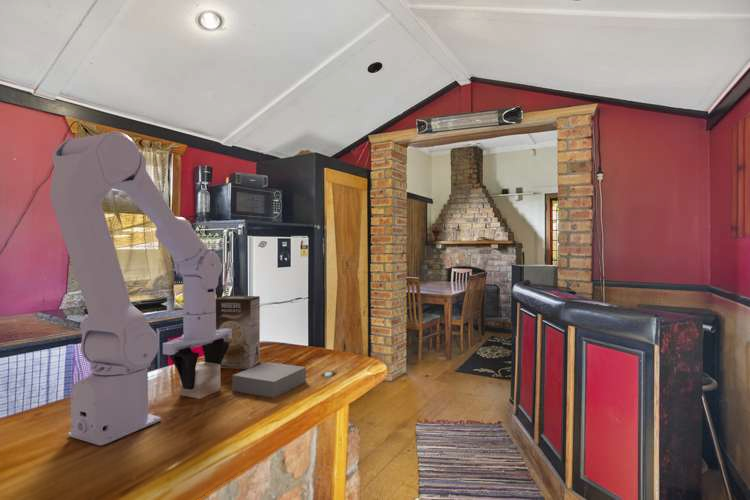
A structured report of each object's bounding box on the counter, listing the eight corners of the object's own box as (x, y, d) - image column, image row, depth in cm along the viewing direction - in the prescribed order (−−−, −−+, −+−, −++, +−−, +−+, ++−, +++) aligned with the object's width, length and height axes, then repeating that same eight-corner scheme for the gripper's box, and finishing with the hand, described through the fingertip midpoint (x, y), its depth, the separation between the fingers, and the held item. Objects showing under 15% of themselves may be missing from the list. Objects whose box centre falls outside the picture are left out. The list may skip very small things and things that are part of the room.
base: (274, 398, 74) (274, 381, 74) (232, 390, 78) (232, 375, 78) (305, 381, 83) (305, 367, 83) (266, 376, 87) (266, 361, 87)
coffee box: (211, 368, 93) (211, 298, 93) (224, 361, 100) (224, 295, 100) (250, 369, 92) (249, 298, 92) (261, 361, 99) (260, 295, 99)
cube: (199, 398, 74) (199, 371, 74) (180, 394, 76) (179, 368, 76) (220, 390, 79) (220, 364, 79) (201, 386, 81) (201, 361, 81)
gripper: (213, 306, 86) (214, 370, 86) (150, 317, 73) (151, 393, 73) (239, 308, 83) (240, 374, 83) (178, 319, 70) (179, 398, 70)
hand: (200, 383), depth 78 cm, fingers closed on cube, 5 cm apart
